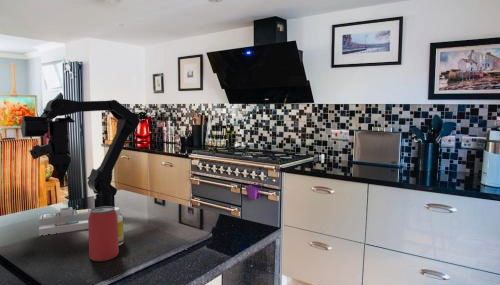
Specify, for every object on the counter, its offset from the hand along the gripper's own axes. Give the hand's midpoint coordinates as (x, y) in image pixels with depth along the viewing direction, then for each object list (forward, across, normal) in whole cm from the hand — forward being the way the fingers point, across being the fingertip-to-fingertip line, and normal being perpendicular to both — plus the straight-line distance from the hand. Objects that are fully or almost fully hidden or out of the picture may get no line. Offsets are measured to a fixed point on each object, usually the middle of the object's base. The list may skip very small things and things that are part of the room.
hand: (61, 181), depth 113 cm
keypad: (+13, +9, +1) cm, 16 cm away
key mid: (+9, +9, +1) cm, 13 cm away
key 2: (+11, +9, +6) cm, 15 cm away
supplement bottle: (+13, +34, +12) cm, 38 cm away
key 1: (+11, +9, -3) cm, 15 cm away
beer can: (+13, +42, +9) cm, 45 cm away
